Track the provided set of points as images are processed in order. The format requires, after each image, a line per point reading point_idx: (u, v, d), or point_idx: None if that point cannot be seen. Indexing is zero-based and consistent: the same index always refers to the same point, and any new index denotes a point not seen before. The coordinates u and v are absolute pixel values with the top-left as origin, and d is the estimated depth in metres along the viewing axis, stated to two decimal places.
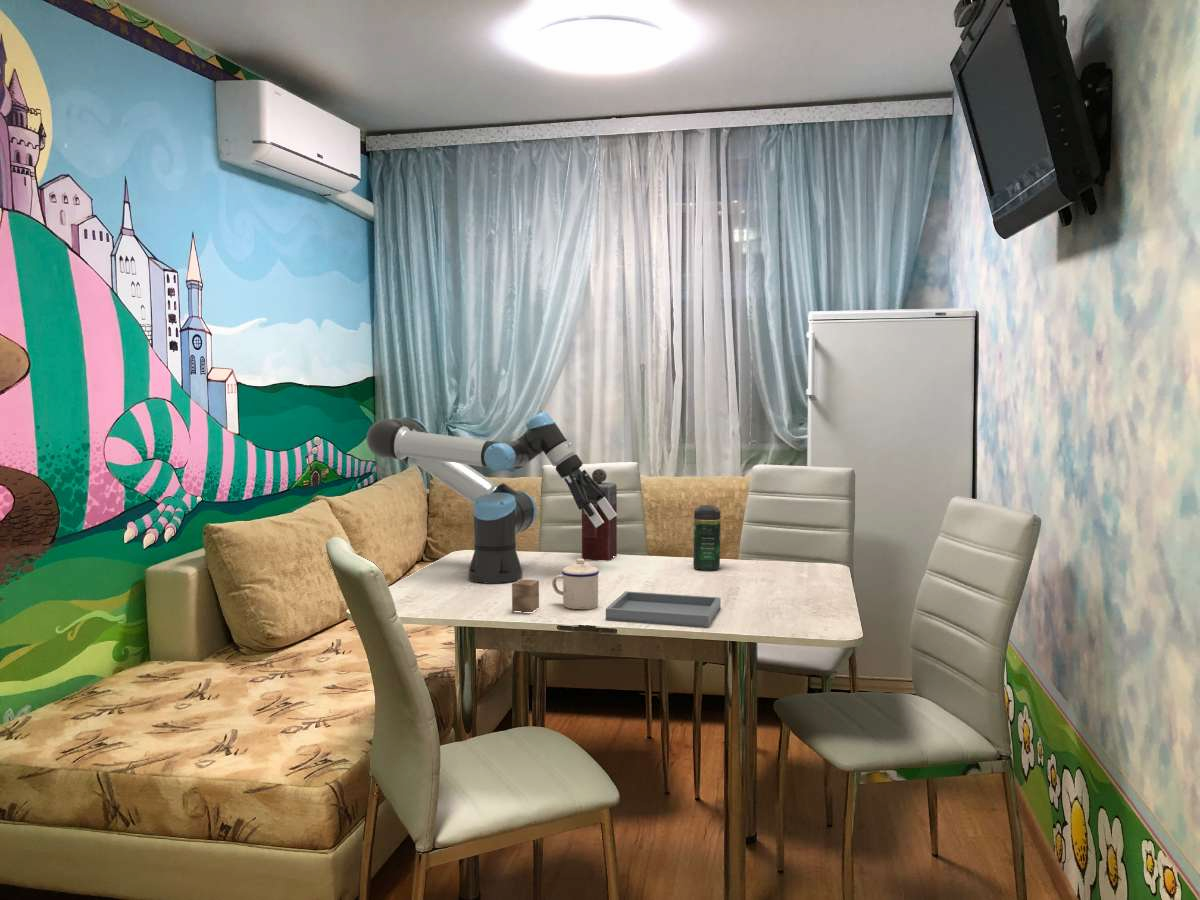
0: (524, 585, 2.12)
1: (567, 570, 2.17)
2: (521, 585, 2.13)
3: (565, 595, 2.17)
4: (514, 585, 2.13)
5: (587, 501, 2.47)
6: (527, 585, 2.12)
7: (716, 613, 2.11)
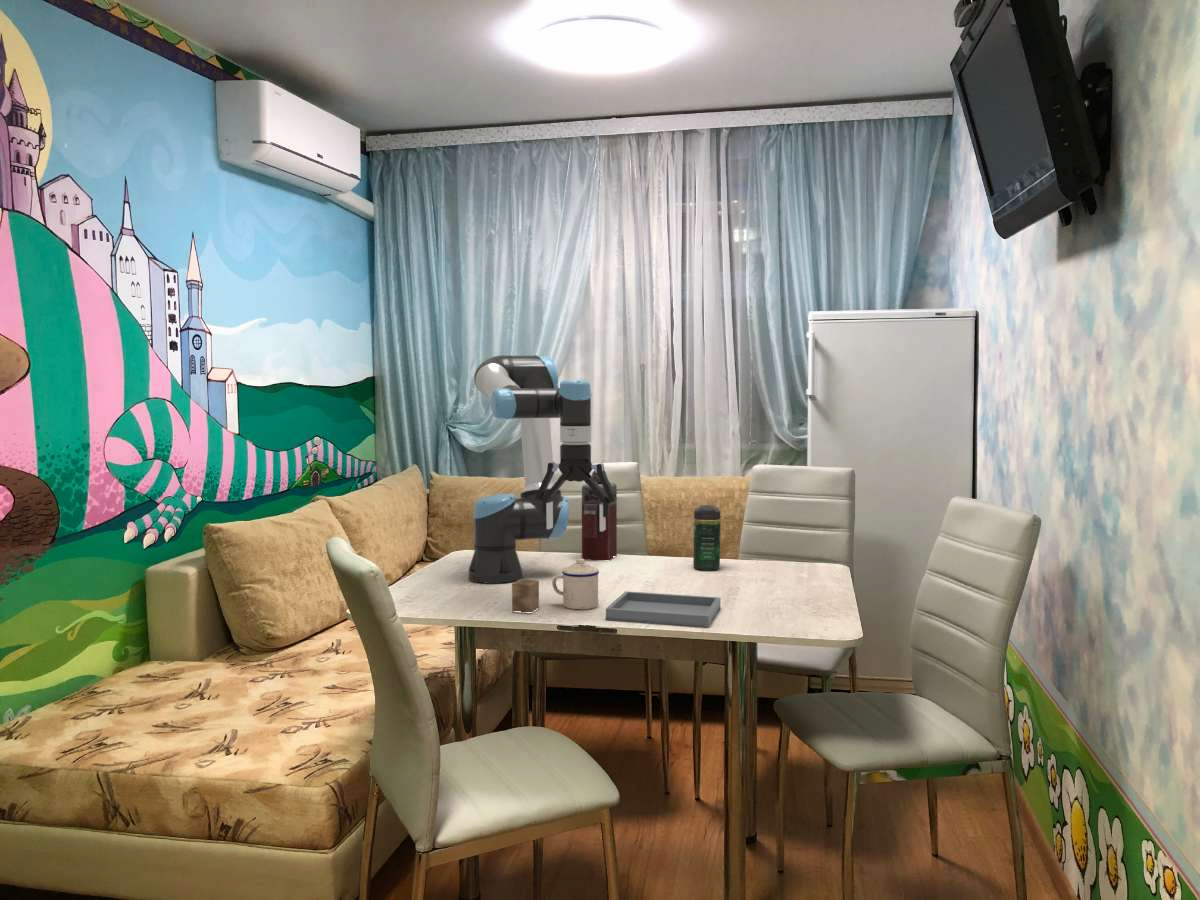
0: (524, 585, 2.12)
1: (567, 570, 2.17)
2: (521, 585, 2.13)
3: (565, 595, 2.17)
4: (514, 585, 2.13)
5: (543, 499, 2.20)
6: (527, 585, 2.12)
7: (716, 613, 2.11)
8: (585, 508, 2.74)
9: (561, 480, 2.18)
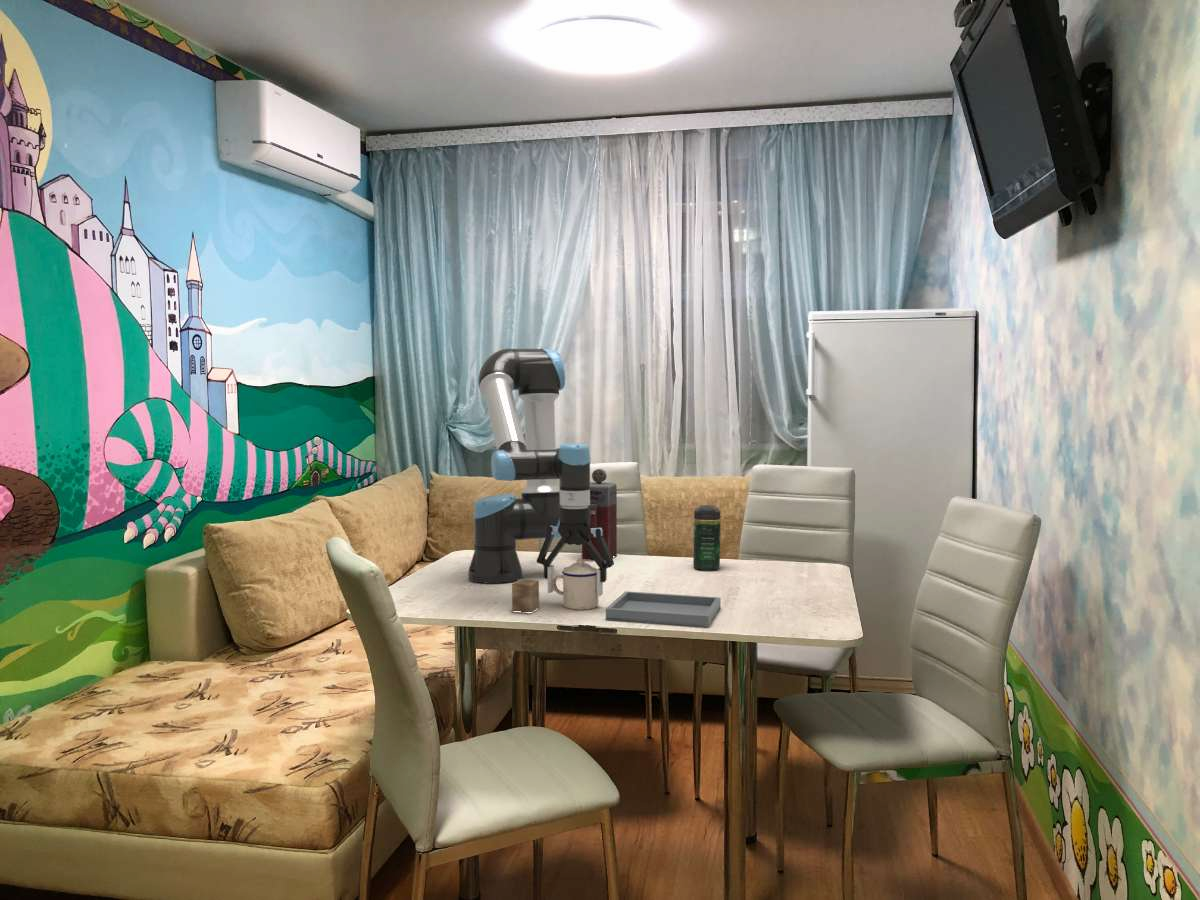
0: (524, 585, 2.13)
1: (567, 570, 2.17)
2: (521, 585, 2.13)
3: (565, 595, 2.17)
4: (514, 585, 2.13)
5: (544, 563, 2.21)
6: (527, 585, 2.12)
7: (716, 613, 2.11)
8: None
9: (561, 544, 2.19)
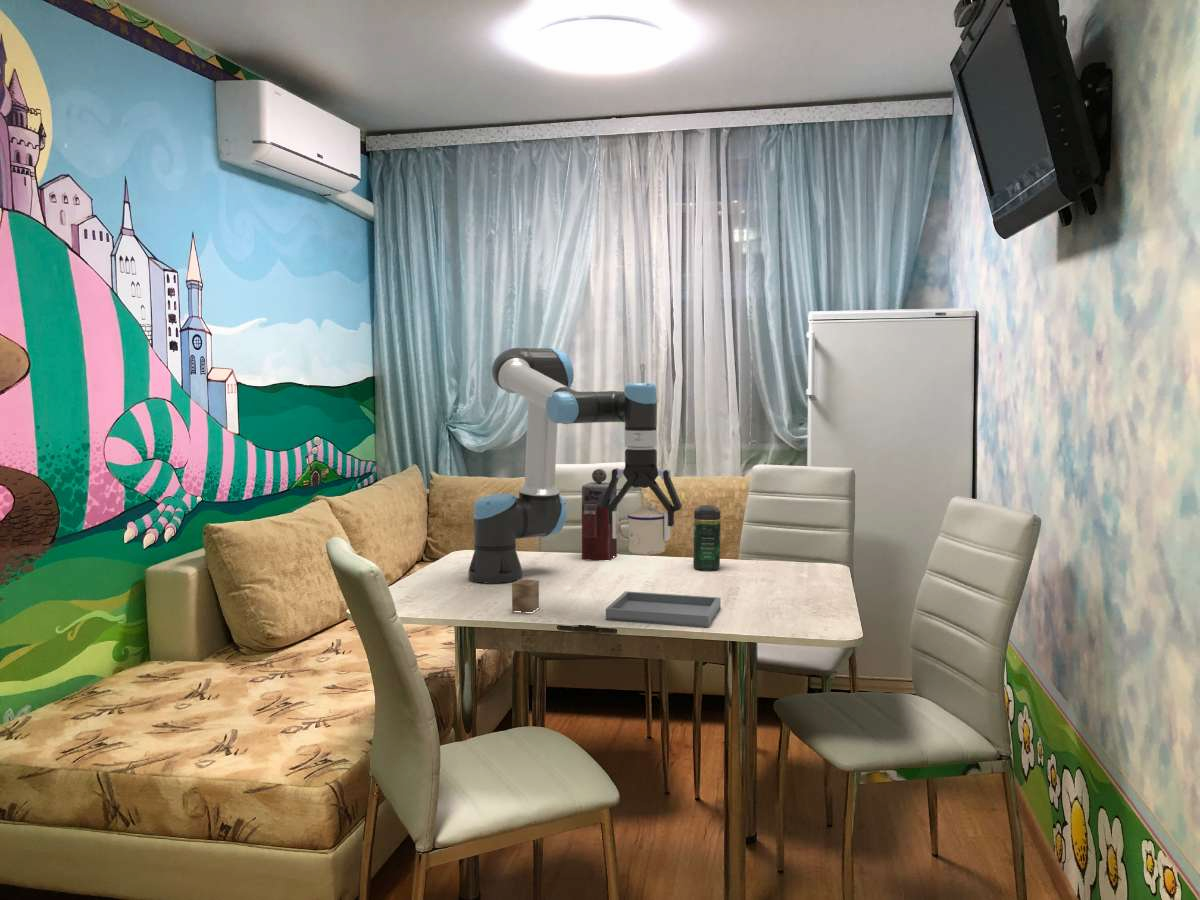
0: (524, 585, 2.13)
1: (633, 513, 2.09)
2: (521, 585, 2.13)
3: (631, 540, 2.09)
4: (514, 585, 2.13)
5: (608, 508, 2.13)
6: (527, 585, 2.12)
7: (716, 613, 2.11)
8: (585, 508, 2.74)
9: (627, 487, 2.11)
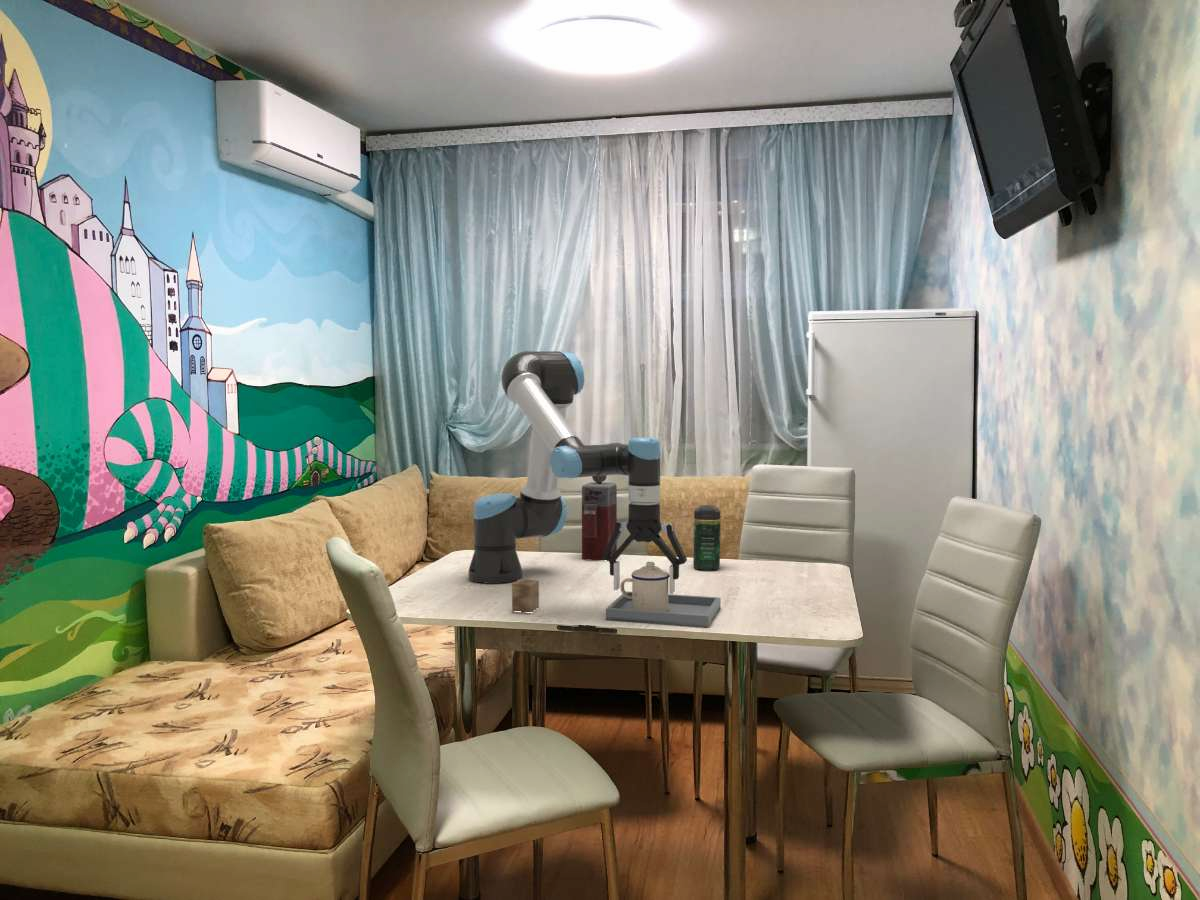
0: (524, 585, 2.12)
1: (637, 573, 2.10)
2: (521, 585, 2.13)
3: (635, 599, 2.11)
4: (514, 585, 2.13)
5: (610, 559, 2.14)
6: (527, 585, 2.12)
7: (716, 613, 2.11)
8: (585, 508, 2.74)
9: (629, 540, 2.11)
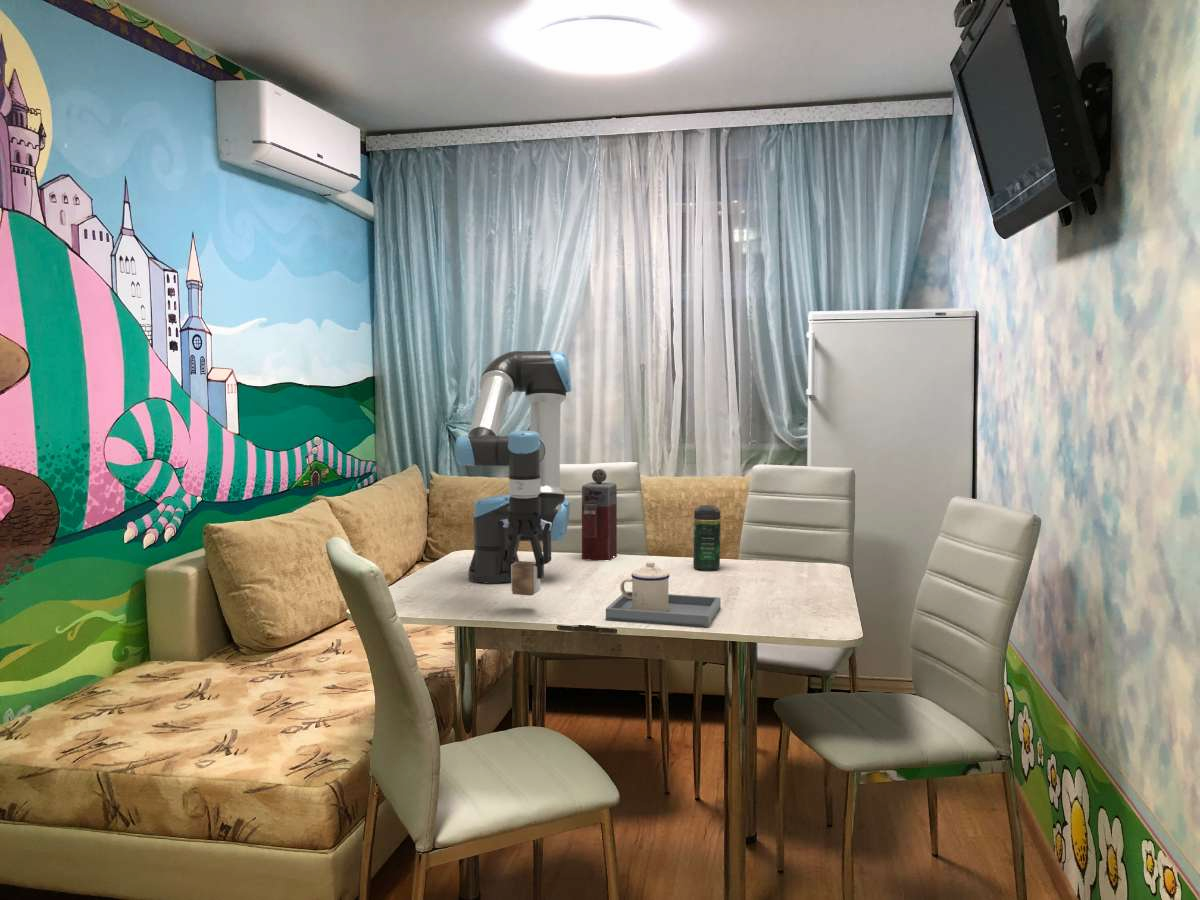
0: (524, 567, 2.13)
1: (637, 573, 2.10)
2: (521, 567, 2.13)
3: (635, 599, 2.11)
4: (514, 567, 2.13)
5: (507, 561, 2.15)
6: (527, 567, 2.12)
7: (716, 613, 2.11)
8: (585, 508, 2.74)
9: (515, 535, 2.13)
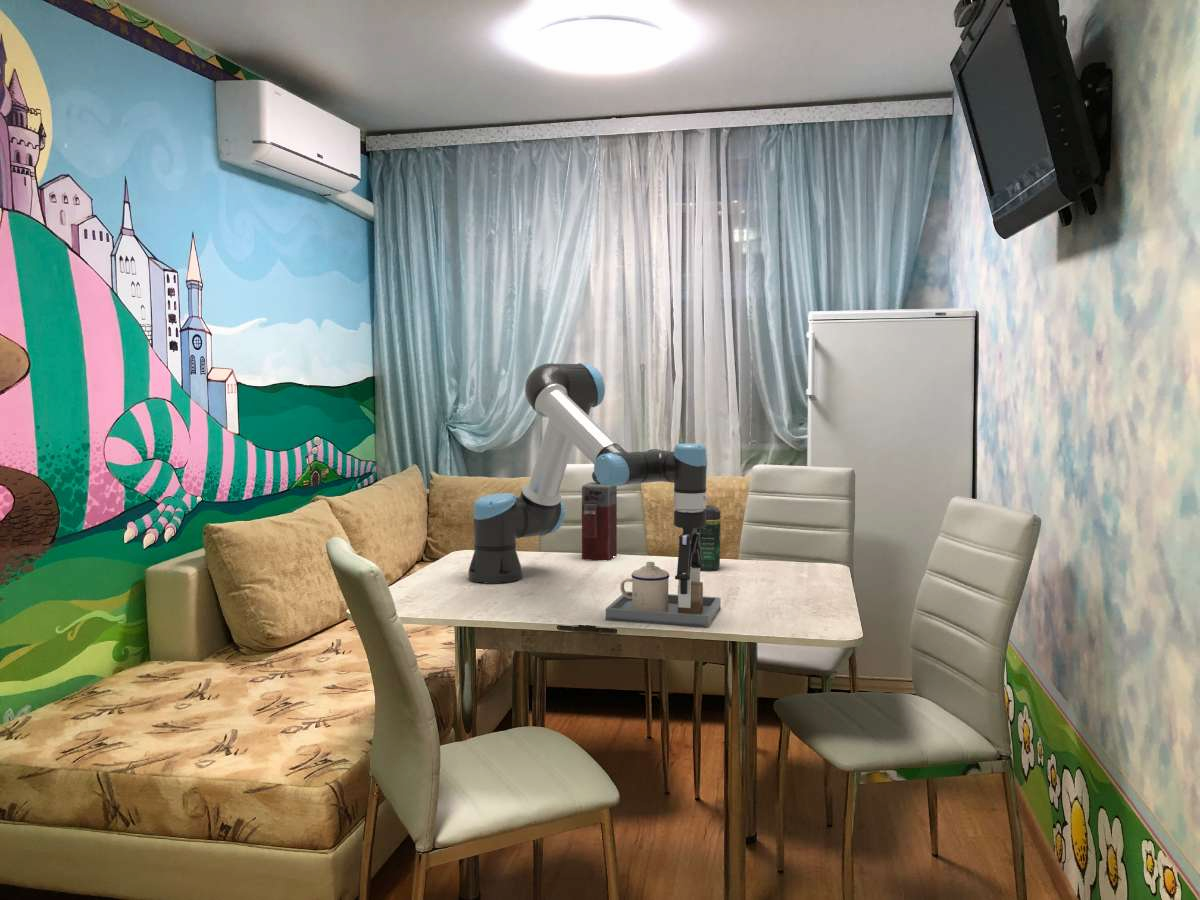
0: (701, 584, 2.10)
1: (637, 573, 2.10)
2: (700, 585, 2.09)
3: (635, 599, 2.11)
4: (699, 587, 2.07)
5: (689, 577, 2.02)
6: (701, 584, 2.11)
7: (716, 613, 2.11)
8: (585, 508, 2.74)
9: (694, 551, 2.06)
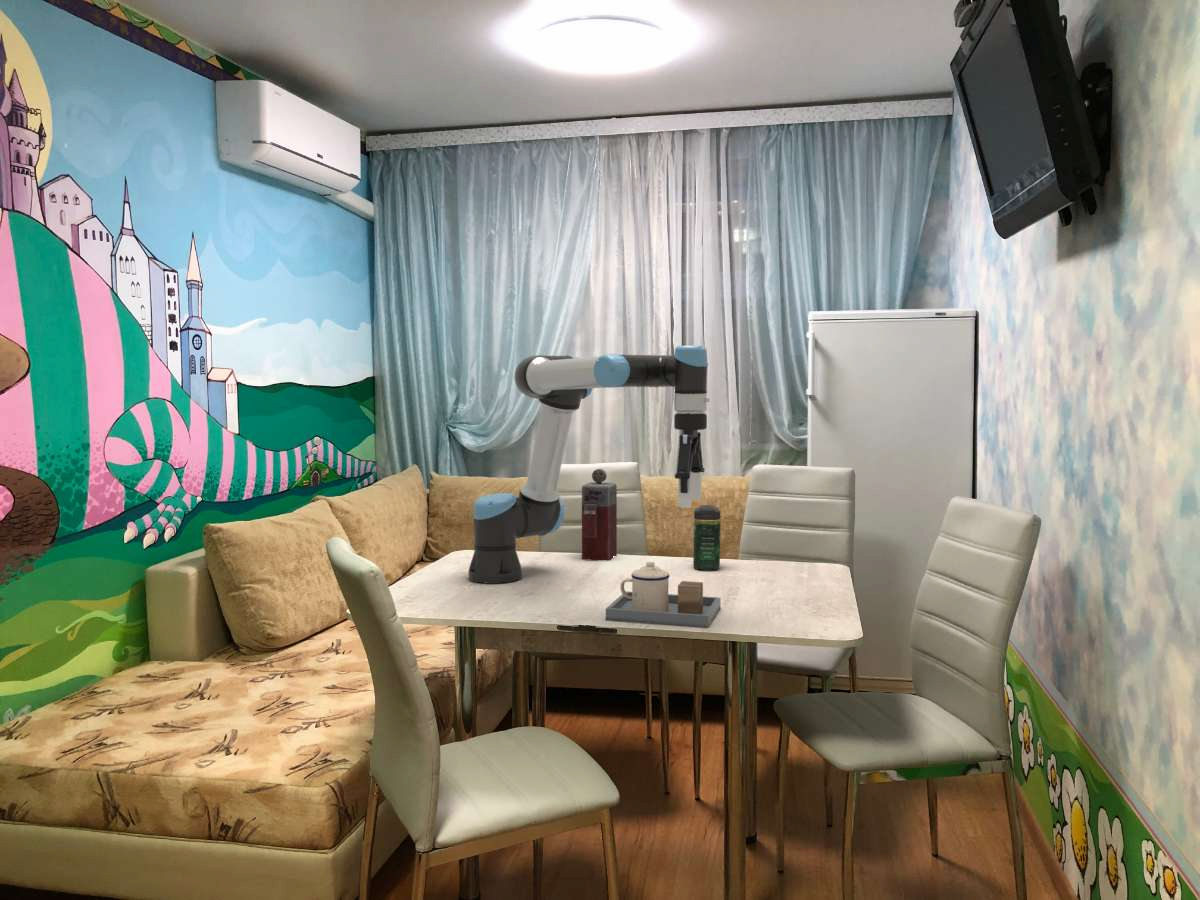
0: (701, 584, 2.10)
1: (637, 573, 2.10)
2: (700, 585, 2.09)
3: (635, 599, 2.11)
4: (699, 587, 2.07)
5: (689, 475, 2.00)
6: (701, 584, 2.11)
7: (716, 613, 2.11)
8: (585, 508, 2.74)
9: (695, 452, 2.04)
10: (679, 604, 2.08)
